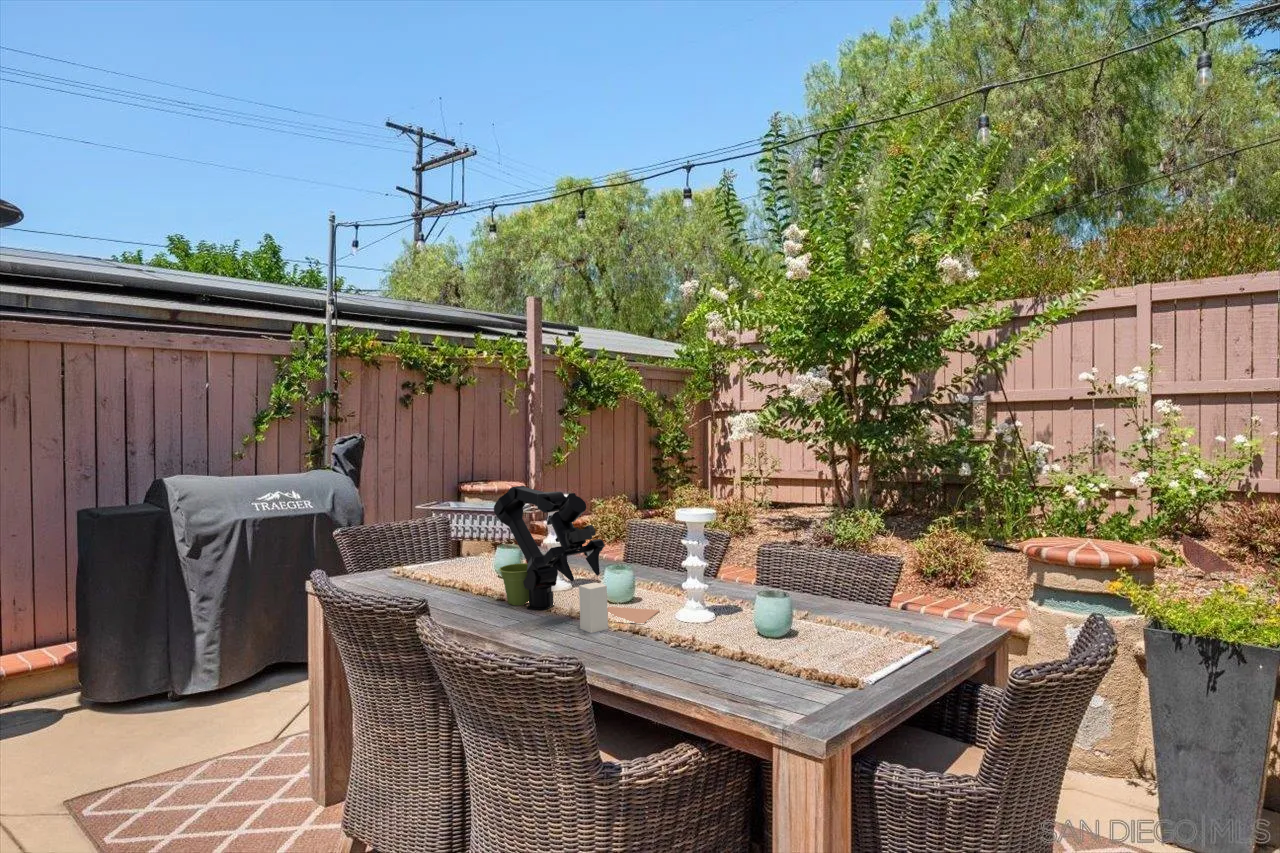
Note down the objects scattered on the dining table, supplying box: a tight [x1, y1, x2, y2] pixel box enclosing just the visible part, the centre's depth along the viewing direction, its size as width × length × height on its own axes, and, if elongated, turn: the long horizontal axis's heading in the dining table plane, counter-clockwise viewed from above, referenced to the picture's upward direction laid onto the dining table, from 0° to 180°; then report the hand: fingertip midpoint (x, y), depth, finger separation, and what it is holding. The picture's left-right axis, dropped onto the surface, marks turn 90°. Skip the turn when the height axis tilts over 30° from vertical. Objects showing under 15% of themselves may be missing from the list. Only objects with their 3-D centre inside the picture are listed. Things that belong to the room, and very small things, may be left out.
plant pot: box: [498, 562, 529, 606], centre depth 248 cm, size 12×12×11 cm
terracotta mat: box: [607, 606, 661, 624], centre depth 230 cm, size 16×14×1 cm
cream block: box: [578, 581, 609, 634], centre depth 218 cm, size 6×6×12 cm
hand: (585, 577), depth 225 cm, fingers open, 9 cm apart
